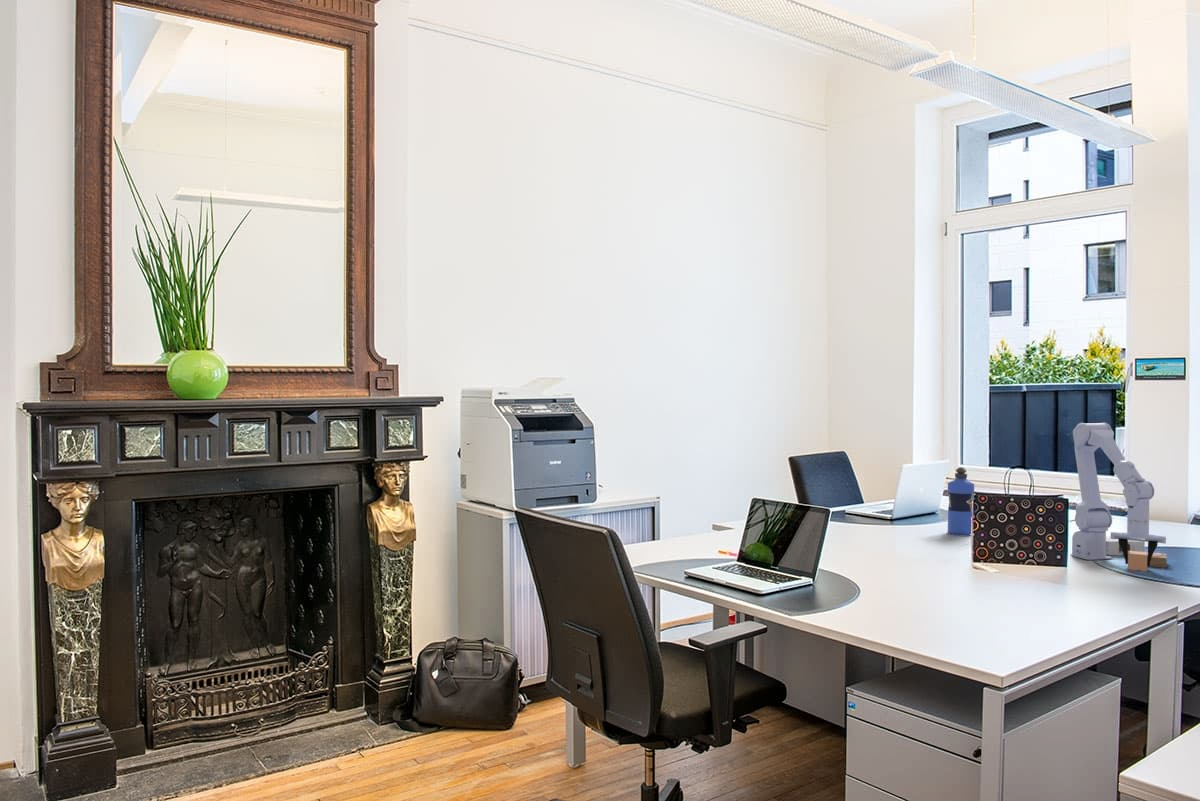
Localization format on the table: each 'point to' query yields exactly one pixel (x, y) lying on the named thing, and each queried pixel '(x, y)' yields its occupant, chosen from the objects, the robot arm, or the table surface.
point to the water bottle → (960, 504)
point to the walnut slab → (1158, 560)
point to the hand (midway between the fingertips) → (1137, 564)
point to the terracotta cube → (1137, 560)
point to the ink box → (1115, 548)
